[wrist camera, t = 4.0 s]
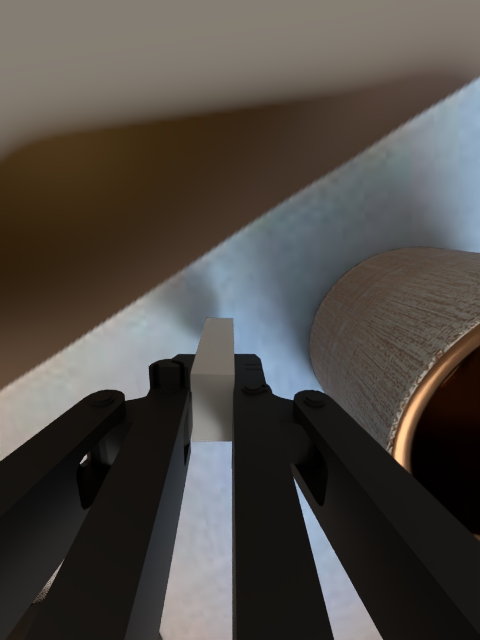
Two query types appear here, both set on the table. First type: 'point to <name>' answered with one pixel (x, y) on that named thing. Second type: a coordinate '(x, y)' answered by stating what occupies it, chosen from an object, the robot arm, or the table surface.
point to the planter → (410, 365)
